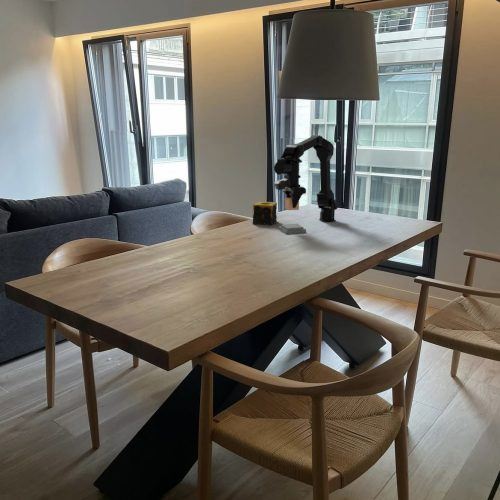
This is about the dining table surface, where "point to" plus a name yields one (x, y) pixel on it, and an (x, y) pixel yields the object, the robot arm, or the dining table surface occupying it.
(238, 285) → the dining table surface
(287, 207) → the block
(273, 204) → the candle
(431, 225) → the dining table surface
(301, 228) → the base
